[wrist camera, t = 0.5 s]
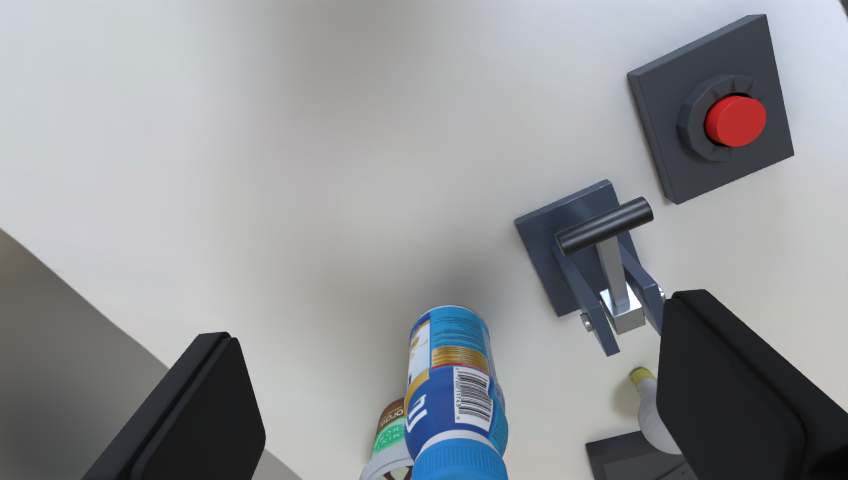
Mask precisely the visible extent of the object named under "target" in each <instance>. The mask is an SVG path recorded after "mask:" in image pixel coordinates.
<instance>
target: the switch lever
mask: <svg viewBox="0 0 848 480" xmlns="http://www.w3.org/2000/svg"><path fill="white" fill-rule="evenodd" d="M653 219H654V217H653V212H652V210H651V207H650V205H649V204H648V202H647V201H646V200H645V198H643V197H639V198H637V199H634V200H632V201H630V202H627V203H625V204H623V205H620V206H618V207H616V208H613V209H611V210H609V211H607V212H604V213H602V214H600V215H597V216H595V217H593V218H590V219H588V220H586V221H583V222H581V223H579V224H576V225H574V226H572V227H569V228H567V229H565V230H563V231H560V232H558V233H556V234H555V238H556V241H557V243H558V245H559V248H560V250H561V252H562V253H563V255H564V256H565V257H567V256H569V255H572V254H574V253H577V252H579V251H581V250H584V249H586V248H588V247H591V246H593V245H596V247H597V251H598V254H599V258H600V262H601V266H602V269H603V273H604V277H605V281H606V284H607V288H608V289H606V290H603V291H601V292H599V295H600V299H601V302H602V306H603V309H604V312H605V313H606V315H607V317H608V319H609V321H610V323H611V324H612V326H613V328H614V330H615V332H616V334H617V335H619V334H622V333H625V332H627V331H630V330H632V329H635V328H638V327H640V326H643V325H645V318H644V312H643V307H642V305H641V303H640V301H639V300H638V298H637V297H636V295H635V293H634V292H633V290H632V288H631V287H630V285H629V284H628V282H627V281H626V279H625V275H624V270H623V265H622V260H621V256H620V251H619V246H618V241H617V237H616V236H617V235H619V234H622V233H624V232H626V231H629V230H631V229H634V228H636V227H638V226H641V225H643V224H645V223H648V222H650V221H652V220H653Z"/></svg>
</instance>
